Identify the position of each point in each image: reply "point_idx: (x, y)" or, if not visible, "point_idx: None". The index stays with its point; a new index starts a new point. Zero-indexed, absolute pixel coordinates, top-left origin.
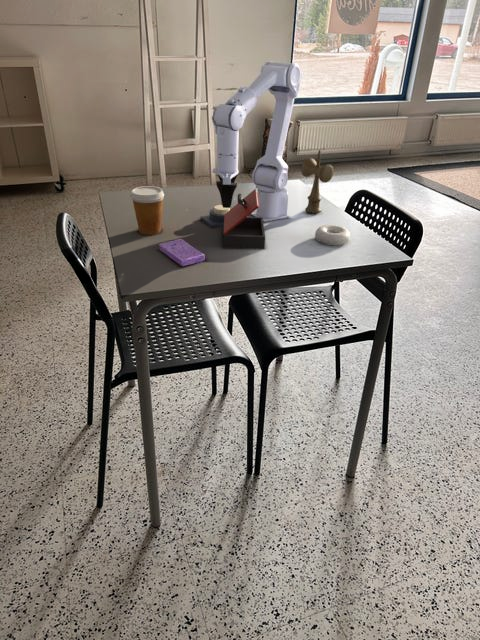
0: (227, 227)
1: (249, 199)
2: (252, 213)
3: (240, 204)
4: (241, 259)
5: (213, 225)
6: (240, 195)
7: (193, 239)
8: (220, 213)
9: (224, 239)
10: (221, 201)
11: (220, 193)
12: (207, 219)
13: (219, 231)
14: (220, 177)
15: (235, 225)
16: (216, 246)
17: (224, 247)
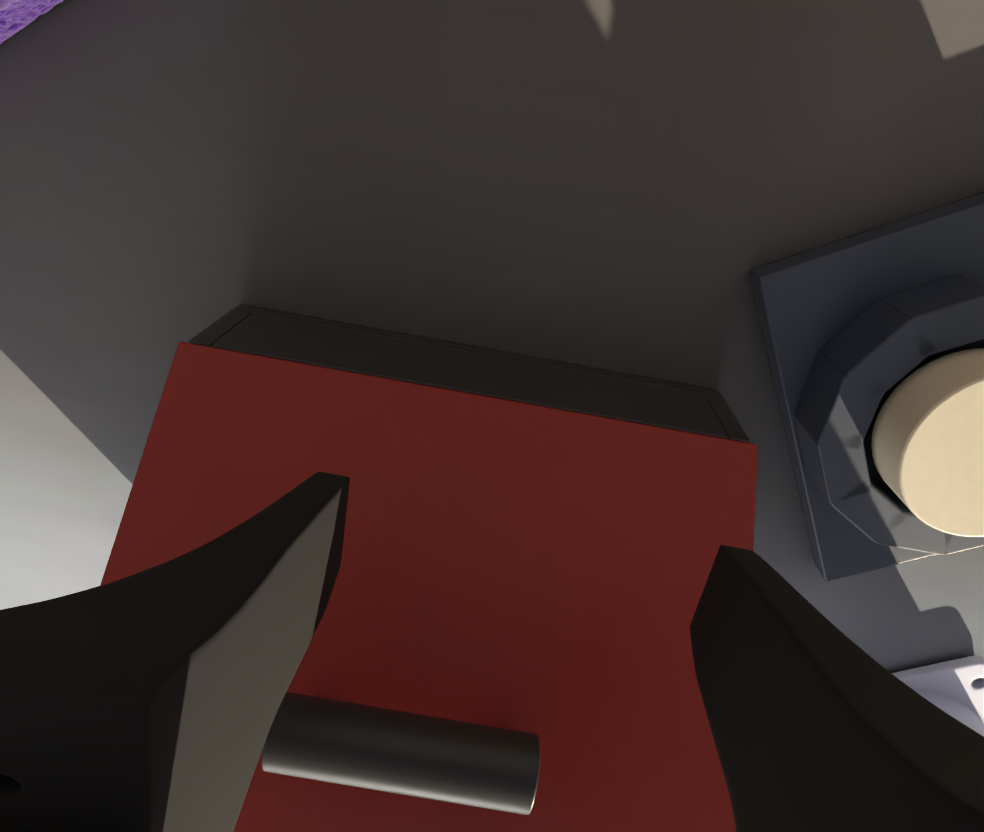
0: (247, 409)
1: (508, 821)
2: (968, 670)
3: (619, 677)
4: (26, 401)
5: (756, 288)
6: (436, 795)
7: (463, 18)
8: (895, 409)
9: (204, 332)
10: (277, 501)
11: (149, 574)
12: (936, 246)
13: (641, 325)
14: (907, 806)
15: (133, 497)
16: (276, 242)
17: (235, 309)
